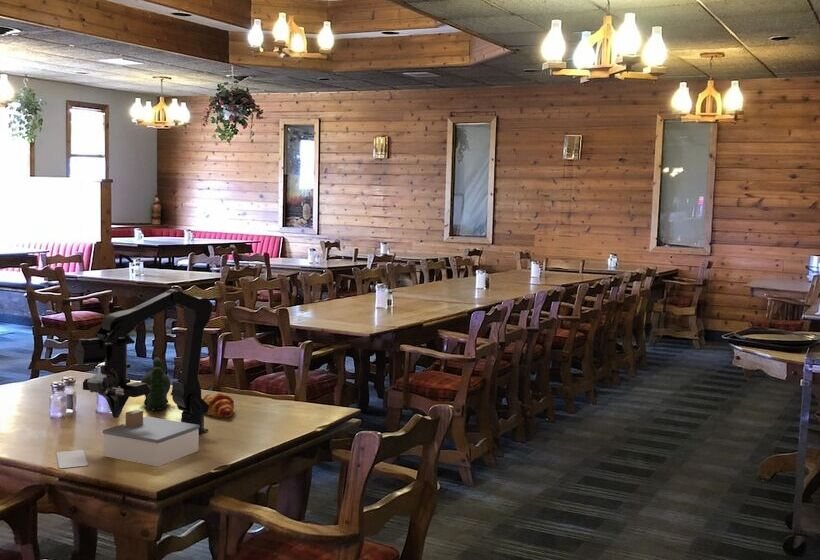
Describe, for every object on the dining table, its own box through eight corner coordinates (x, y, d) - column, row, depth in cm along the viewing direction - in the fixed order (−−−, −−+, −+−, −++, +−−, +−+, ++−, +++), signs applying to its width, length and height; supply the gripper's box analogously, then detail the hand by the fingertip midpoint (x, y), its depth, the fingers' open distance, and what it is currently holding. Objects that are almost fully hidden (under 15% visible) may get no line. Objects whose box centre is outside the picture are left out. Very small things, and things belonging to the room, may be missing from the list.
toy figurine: (172, 420, 270) (169, 395, 293) (173, 362, 266) (169, 341, 290) (141, 422, 267) (140, 396, 290) (141, 363, 264) (140, 342, 287)
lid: (147, 419, 240) (147, 404, 239) (199, 427, 233) (199, 412, 232) (102, 433, 225) (102, 417, 224) (157, 443, 217) (157, 426, 217)
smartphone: (58, 468, 214) (55, 452, 227) (58, 470, 214) (55, 454, 227) (88, 465, 217) (84, 449, 230) (88, 467, 217) (84, 451, 230)
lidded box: (146, 441, 240) (146, 420, 240) (198, 450, 233) (198, 429, 232) (103, 456, 226) (103, 433, 225) (158, 466, 218) (158, 443, 218)
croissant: (198, 416, 282) (186, 396, 280) (224, 400, 287) (213, 380, 284) (221, 430, 265) (209, 409, 262) (248, 412, 269) (237, 391, 267)
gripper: (66, 362, 229) (67, 419, 230) (121, 369, 221) (121, 429, 222) (98, 355, 239) (98, 411, 240) (151, 362, 231) (150, 419, 232)
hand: (116, 417), depth 233 cm, fingers closed
